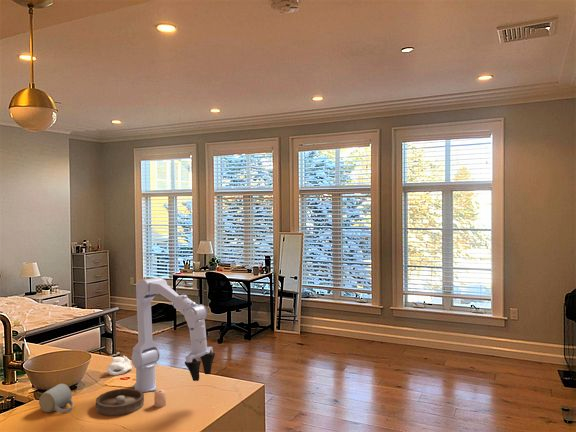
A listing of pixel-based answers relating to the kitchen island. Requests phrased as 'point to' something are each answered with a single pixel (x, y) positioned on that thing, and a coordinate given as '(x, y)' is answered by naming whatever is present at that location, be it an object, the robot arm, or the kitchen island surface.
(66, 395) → the ceramic mug
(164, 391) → the bead
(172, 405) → the kitchen island surface
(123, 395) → the groove tray
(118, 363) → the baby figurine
